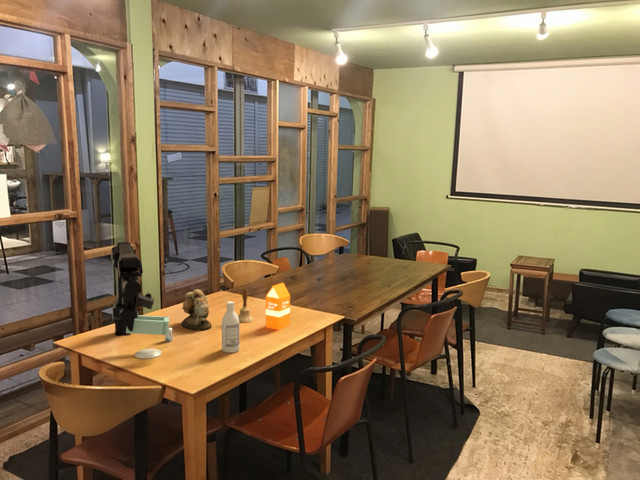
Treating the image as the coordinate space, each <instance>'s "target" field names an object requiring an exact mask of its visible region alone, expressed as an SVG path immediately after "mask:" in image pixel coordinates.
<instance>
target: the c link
mask: <svg viewBox="0 0 640 480" xmlns="http://www.w3.org/2000/svg"><path fill="white" fill-rule="evenodd" d="M169 323H170V316H163V315H162V316H158V315H141V314H140V315H139V314H138V318H135V319H134V325H133V331H129V329H128V327H127V328H126V333H131V334H134V335H135V334H138V335H154V336H155V335H156V336H157V335H158V336H159V335H160V336H165V335H167V334H168V327H170V326H169V325H170V324H169Z"/></svg>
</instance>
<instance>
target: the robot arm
mask: <svg viewBox="0 0 640 480" xmlns="http://www.w3.org/2000/svg"><path fill="white" fill-rule="evenodd" d="M110 250H111V253H110V257H111V261H112V262H113V265H114V267H115V268H116V270H117V271H116V273H117V274H116V275H117V276H116V277H117V278H116V280H117V282H116V283H117V285H116V286H117V298H116V299H115V301H113V307H112V309H111V319H112V323H113V322H114V331H115V332H114V336H127V335H129V336H130V335H131V334H132V333H126V328H127V327H128V329H129V331H133V325H134V319H135V318H138V315H139V312H140V310H141V308H140V307H143V308H146V309H148V310H152V309H153V305H154V303H155V298H154V297H152V293H150V292H146V294H141V292H142V285H141V283H140V281H139V278H138V277H143V275H142V274H143V273H144V270H143V265H142V264H143V263H142V261H141V259H140V258H139V257H138V255H137V254H135V252H134V246H132V245H131V241H130V242H129V241H118V242H116V245H115V246H114V245H113V247H112V248H111V249H110Z"/></svg>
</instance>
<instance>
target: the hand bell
mask: <svg viewBox="0 0 640 480" xmlns="http://www.w3.org/2000/svg"><path fill="white" fill-rule="evenodd" d="M241 296H242V300H243V302H242V308H240V309H239V314H238V315H237V316H238V318H239V323H244V324H245V323H251V322H253V321H254V318H253V317H252V316H251V311H250V310H251V309H250V308H249V307H248V306H247V303H248V296H249V294H248V289H247V287H243V290H242V292H241Z"/></svg>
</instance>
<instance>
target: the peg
mask: <svg viewBox="0 0 640 480" xmlns="http://www.w3.org/2000/svg"><path fill="white" fill-rule="evenodd" d="M164 341H165V342H166V343H171V342H173V326H172V327H171V326H168V334H167V335H164Z"/></svg>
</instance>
